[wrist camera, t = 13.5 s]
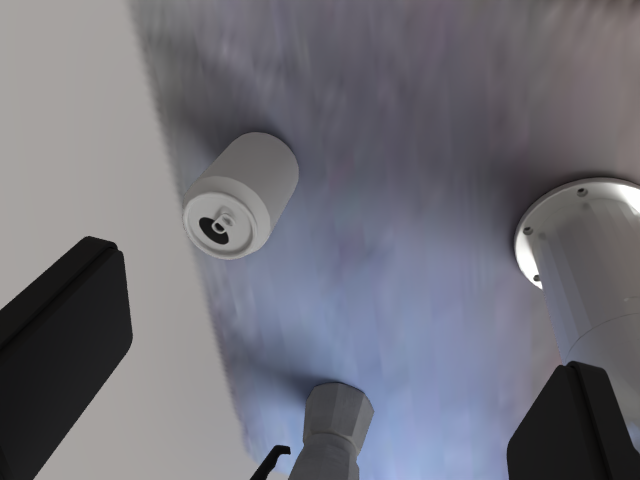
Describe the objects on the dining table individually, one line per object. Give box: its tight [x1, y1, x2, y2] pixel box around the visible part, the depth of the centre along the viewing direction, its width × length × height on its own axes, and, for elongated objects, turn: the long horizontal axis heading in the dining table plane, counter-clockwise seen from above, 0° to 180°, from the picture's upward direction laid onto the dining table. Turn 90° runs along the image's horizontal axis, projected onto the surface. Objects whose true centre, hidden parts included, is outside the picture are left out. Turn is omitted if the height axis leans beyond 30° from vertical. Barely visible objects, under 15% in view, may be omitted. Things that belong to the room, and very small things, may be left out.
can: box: [182, 132, 299, 260], centre depth 42 cm, size 8×8×12 cm
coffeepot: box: [250, 383, 374, 480], centre depth 58 cm, size 15×9×18 cm, turn 92°
